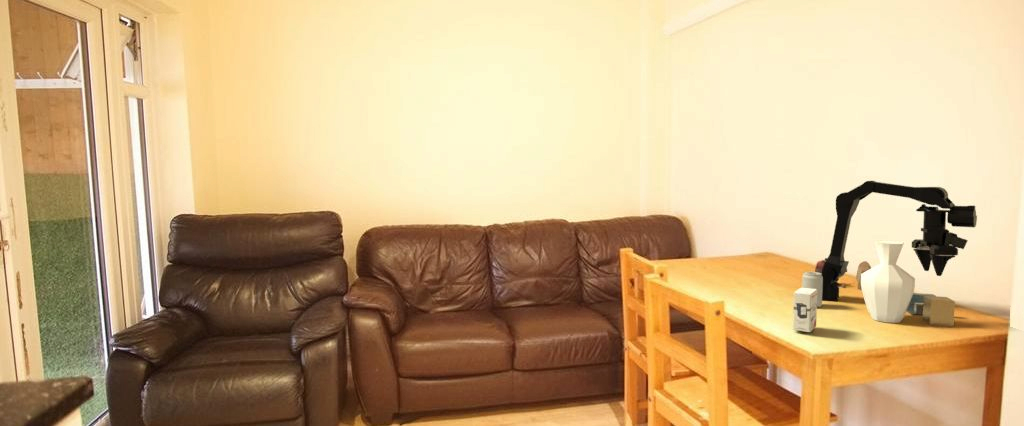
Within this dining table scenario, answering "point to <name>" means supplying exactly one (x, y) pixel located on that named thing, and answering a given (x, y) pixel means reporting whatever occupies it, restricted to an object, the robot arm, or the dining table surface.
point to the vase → (887, 285)
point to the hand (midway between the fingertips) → (932, 273)
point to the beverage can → (814, 284)
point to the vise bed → (912, 310)
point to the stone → (861, 269)
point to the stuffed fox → (820, 266)
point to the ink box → (805, 309)
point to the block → (938, 311)
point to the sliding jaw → (918, 298)
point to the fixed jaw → (918, 308)
